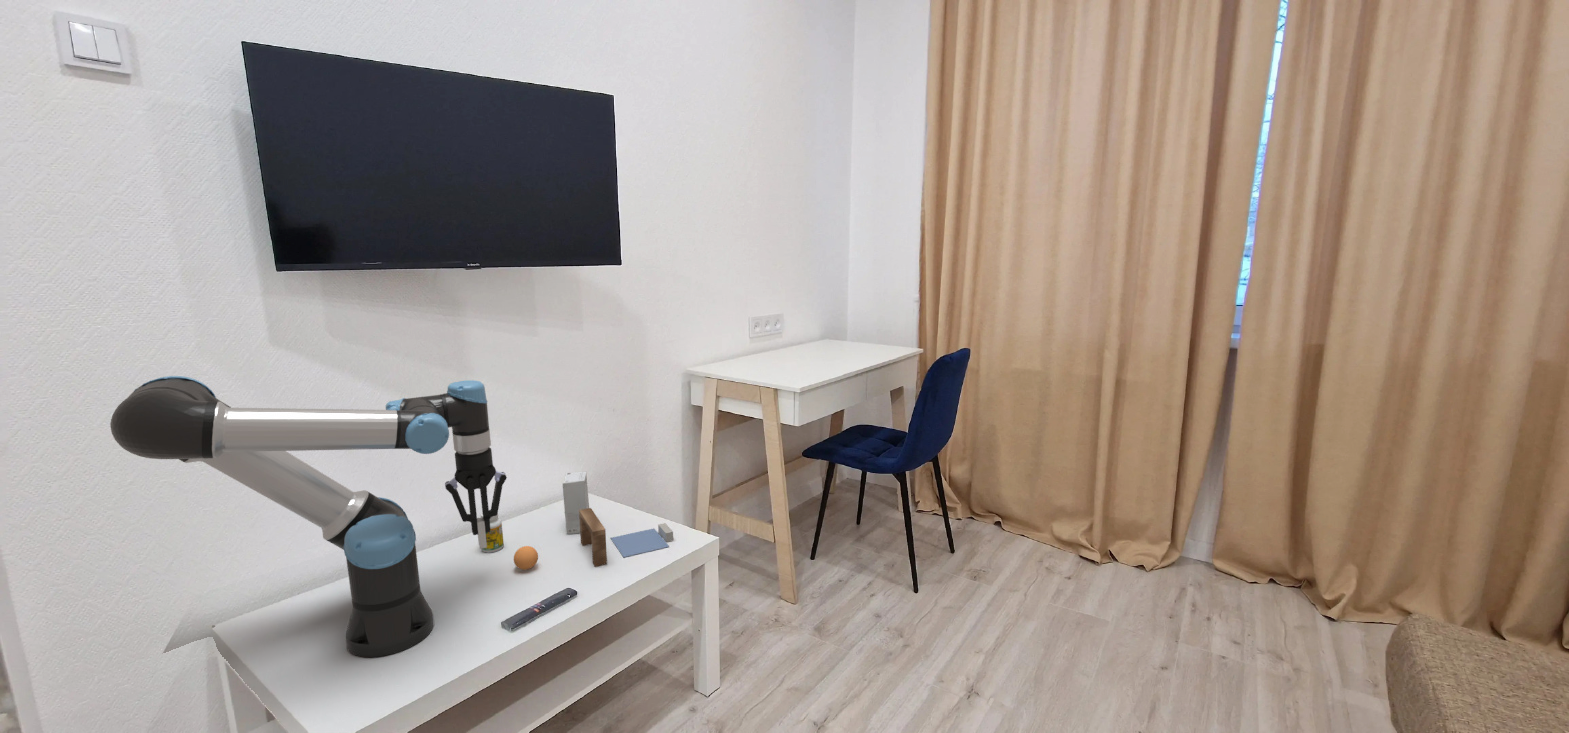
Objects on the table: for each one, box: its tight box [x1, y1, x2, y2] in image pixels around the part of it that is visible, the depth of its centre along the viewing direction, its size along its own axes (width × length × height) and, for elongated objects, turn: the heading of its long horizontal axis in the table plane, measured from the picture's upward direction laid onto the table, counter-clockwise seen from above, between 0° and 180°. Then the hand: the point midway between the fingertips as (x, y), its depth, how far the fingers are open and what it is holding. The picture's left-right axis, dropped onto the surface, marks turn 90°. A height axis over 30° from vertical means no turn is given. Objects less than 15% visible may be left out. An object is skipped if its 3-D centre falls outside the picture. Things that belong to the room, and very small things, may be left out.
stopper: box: [657, 522, 674, 543], centre depth 176 cm, size 2×6×2 cm, turn 30°
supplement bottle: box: [480, 512, 504, 554], centre depth 168 cm, size 5×5×10 cm
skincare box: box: [562, 471, 590, 535], centre depth 180 cm, size 8×6×15 cm
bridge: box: [579, 507, 608, 568], centre depth 166 cm, size 3×14×9 cm, turn 30°
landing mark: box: [610, 527, 670, 559], centre depth 172 cm, size 12×12×1 cm
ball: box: [513, 545, 539, 571], centre depth 158 cm, size 6×6×6 cm
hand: (482, 545), depth 153 cm, fingers closed
